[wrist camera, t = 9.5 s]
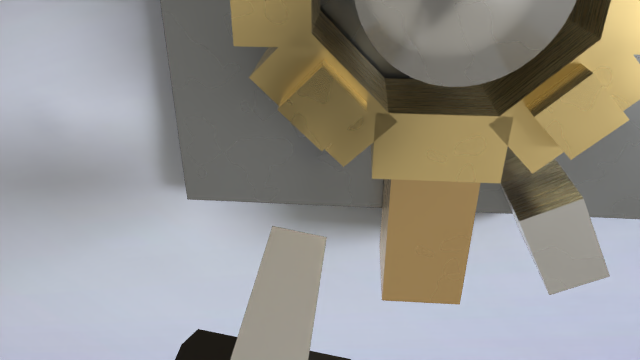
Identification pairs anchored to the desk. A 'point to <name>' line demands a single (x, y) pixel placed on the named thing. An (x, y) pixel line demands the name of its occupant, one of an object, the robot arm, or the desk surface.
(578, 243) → the grey base plate
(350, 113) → the octagonal block ring
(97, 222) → the desk surface
